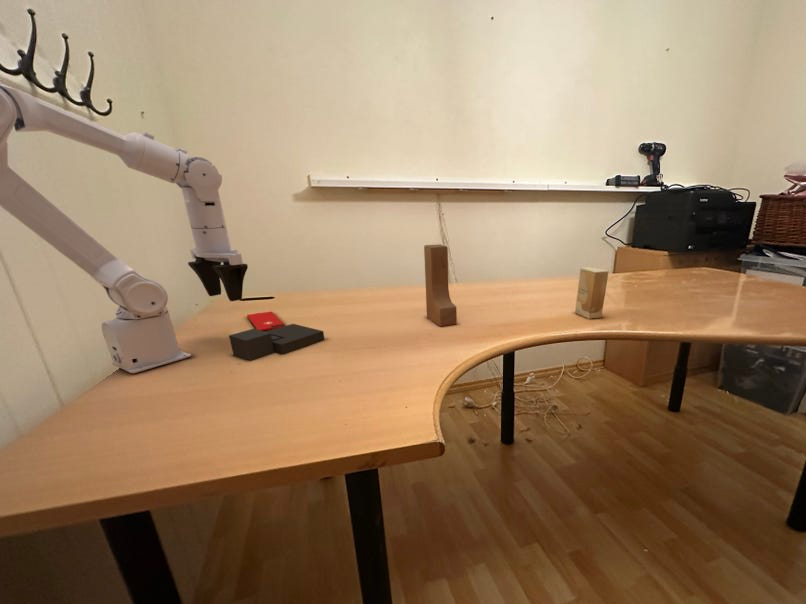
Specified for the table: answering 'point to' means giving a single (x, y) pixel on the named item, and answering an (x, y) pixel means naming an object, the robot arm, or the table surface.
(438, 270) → the wooden block
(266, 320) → the electronic device
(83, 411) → the table surface
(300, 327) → the base pad
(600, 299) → the cosmetic box
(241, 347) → the pad
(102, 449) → the table surface
